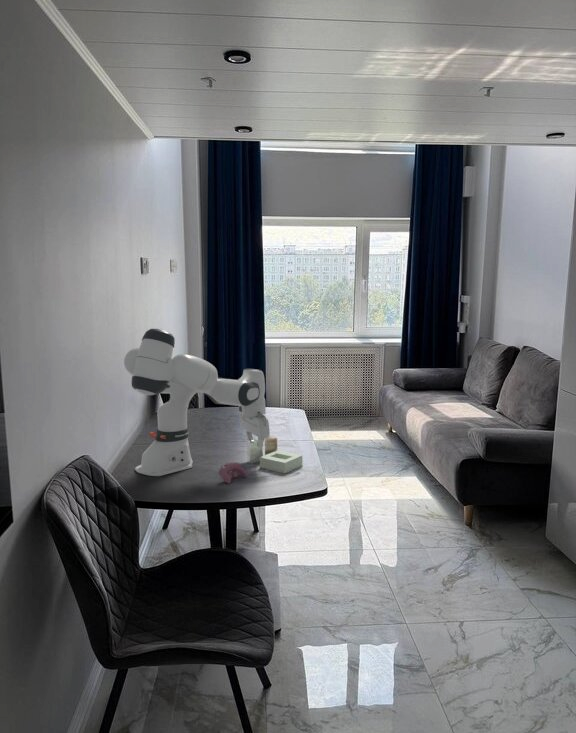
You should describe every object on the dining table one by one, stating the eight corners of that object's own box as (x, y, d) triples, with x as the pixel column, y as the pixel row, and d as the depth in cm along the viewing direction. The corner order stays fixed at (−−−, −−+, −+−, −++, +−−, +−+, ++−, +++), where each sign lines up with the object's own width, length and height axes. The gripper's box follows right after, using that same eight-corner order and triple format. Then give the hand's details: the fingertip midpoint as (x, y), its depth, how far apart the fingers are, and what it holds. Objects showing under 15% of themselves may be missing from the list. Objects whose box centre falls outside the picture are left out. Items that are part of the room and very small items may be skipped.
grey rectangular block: (262, 461, 232) (262, 438, 231) (250, 463, 230) (249, 440, 228) (260, 459, 234) (259, 437, 233) (247, 461, 232) (247, 439, 231)
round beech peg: (272, 460, 233) (271, 440, 231) (262, 458, 236) (262, 438, 234) (280, 457, 237) (279, 438, 235) (270, 455, 240) (269, 436, 238)
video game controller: (241, 479, 216) (234, 461, 217) (249, 476, 213) (242, 457, 214) (221, 486, 209) (215, 468, 210) (230, 483, 206) (223, 464, 207)
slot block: (285, 473, 217) (284, 462, 217) (259, 467, 224) (259, 457, 224) (302, 465, 226) (302, 455, 225) (277, 460, 233) (277, 450, 232)
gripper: (273, 413, 221) (274, 449, 223) (251, 404, 239) (251, 437, 241) (258, 415, 218) (258, 452, 220) (236, 405, 236) (237, 439, 238)
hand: (255, 444), depth 231 cm, fingers open, 8 cm apart
